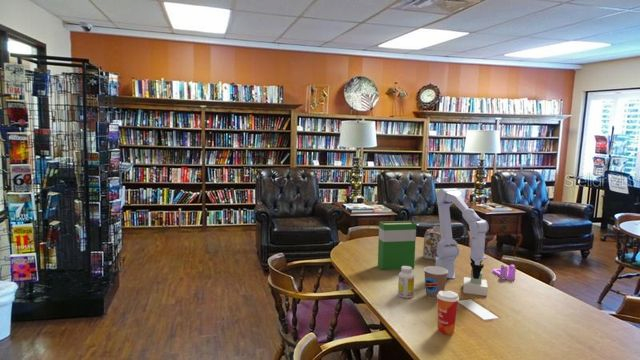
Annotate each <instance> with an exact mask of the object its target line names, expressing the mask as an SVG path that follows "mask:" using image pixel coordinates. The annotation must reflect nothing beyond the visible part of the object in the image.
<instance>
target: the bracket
mask: <svg viewBox="0 0 640 360" xmlns="http://www.w3.org/2000/svg"><path fill="white" fill-rule="evenodd" d="M492 273H493V274H495V275H496V276H498V277H500V278H501V279H502V278H503V280H505V279H511V280H516V266H515V264H509V265H508V266H507V264H501V266H500V268H492Z"/></svg>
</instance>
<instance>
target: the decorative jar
mask: <svg viewBox="0 0 640 360" xmlns="http://www.w3.org/2000/svg"><path fill="white" fill-rule="evenodd" d="M440 240H441V229H440V226H438V225H437V226H436V225H435V226H432V228H429V229H426V231H425V232H424V238H423V249H422V250H423V251H422V252H423V253H422V258H423V259H427V260H431V261H432V260H433V261H436V257H438V255H437V243H438V242H439V241H440ZM448 245H450V244H448ZM445 246H446V245H445Z"/></svg>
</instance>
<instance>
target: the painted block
mask: <svg viewBox="0 0 640 360" xmlns="http://www.w3.org/2000/svg"><path fill="white" fill-rule="evenodd" d="M462 285H463V286H462V290H463V292H462V293H463V294H468V295H469V294H470V295H478V296H485V297H487V296H488V292H489V291H488V290H489V289H488V288H489V286H488V281H487V279H483V278H482V282H481V284H474V283H471V277H467V276H464V277H463V283H462Z"/></svg>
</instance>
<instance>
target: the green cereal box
mask: <svg viewBox="0 0 640 360" xmlns="http://www.w3.org/2000/svg"><path fill="white" fill-rule="evenodd" d="M378 225H379V226H378V244H377V245H378V246H377V247H378V248H377V249H378V250H377V266H378V267H379V269H380V270H382V271H390V270H391V271H393V270H394V269H395V270H401V267H402V266H410V267H412V270H413V269H415V262H416V261H415V259H416V257H415V256H416V240H417V239H416V237H417V223H412V220H397V221H396V220H395V221H389V220H388V221H379V223H378ZM395 270H394V271H395Z"/></svg>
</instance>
